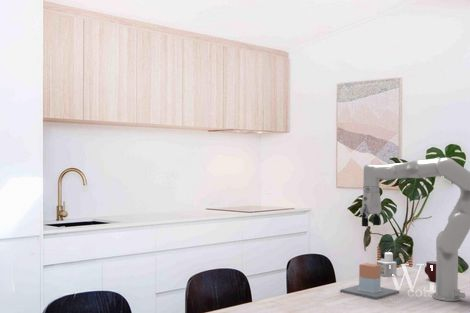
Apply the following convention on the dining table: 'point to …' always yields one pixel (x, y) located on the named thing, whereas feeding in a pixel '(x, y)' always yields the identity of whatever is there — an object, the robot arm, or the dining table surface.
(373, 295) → the baseplate
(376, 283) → the blue brick
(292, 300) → the dining table surface
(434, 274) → the mug
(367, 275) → the terracotta brick
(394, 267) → the container
